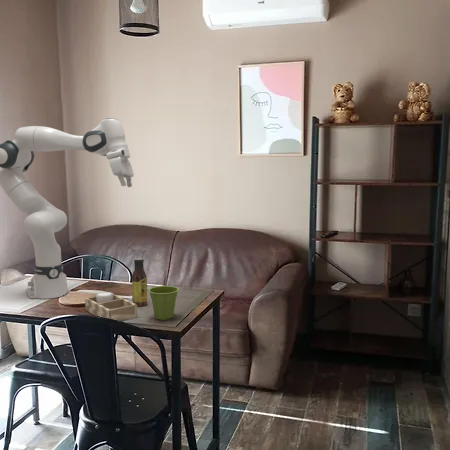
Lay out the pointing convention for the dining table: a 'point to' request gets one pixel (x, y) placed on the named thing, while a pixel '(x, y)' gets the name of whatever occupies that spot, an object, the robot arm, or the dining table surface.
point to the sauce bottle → (139, 283)
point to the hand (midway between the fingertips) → (127, 186)
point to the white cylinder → (104, 297)
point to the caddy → (112, 308)
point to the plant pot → (163, 301)
